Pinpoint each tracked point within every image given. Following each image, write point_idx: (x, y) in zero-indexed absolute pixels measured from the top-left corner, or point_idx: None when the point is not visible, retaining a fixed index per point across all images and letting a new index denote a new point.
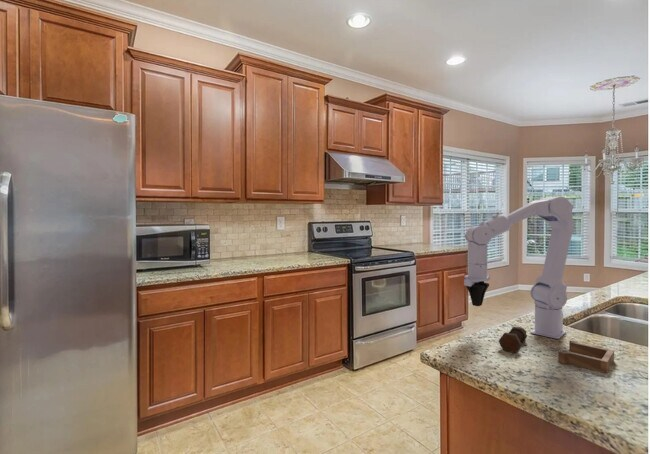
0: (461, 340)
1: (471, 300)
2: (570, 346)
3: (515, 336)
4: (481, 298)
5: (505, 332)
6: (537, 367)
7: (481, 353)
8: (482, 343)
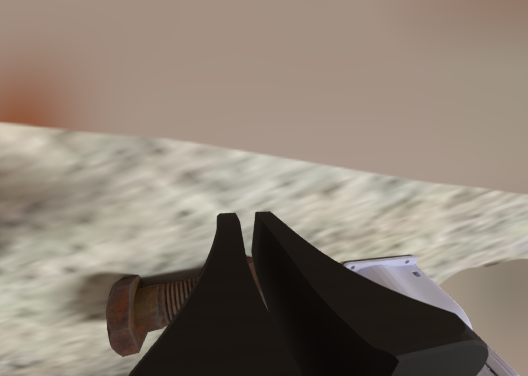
0: (76, 140)
1: (217, 230)
2: None
3: (120, 354)
4: (268, 296)
5: (128, 328)
6: (72, 363)
7: (9, 254)
8: (125, 213)
